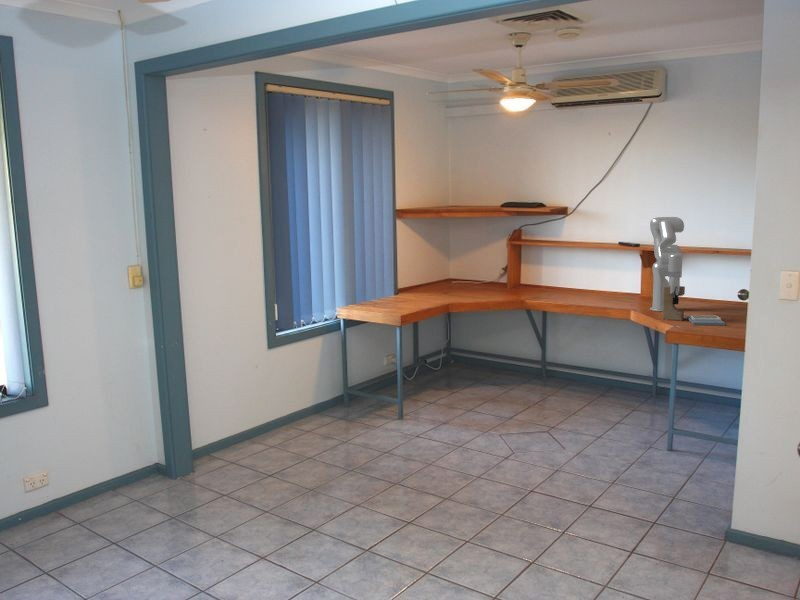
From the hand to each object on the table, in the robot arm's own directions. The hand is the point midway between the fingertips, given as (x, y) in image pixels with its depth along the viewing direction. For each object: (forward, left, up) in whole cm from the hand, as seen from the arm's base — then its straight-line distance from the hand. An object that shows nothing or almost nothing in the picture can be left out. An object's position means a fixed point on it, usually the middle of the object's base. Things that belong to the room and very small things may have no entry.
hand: (673, 303), depth 407 cm
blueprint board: (+4, +16, -10) cm, 20 cm away
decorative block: (-1, 0, -10) cm, 10 cm away
